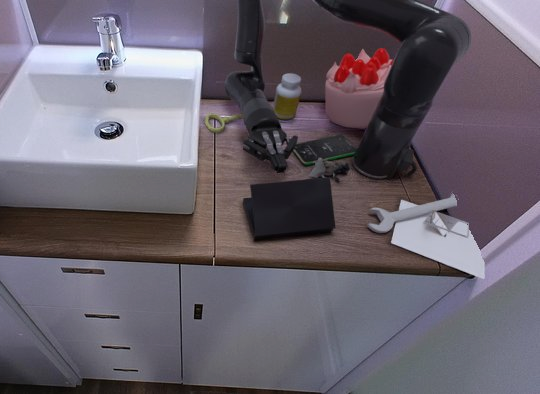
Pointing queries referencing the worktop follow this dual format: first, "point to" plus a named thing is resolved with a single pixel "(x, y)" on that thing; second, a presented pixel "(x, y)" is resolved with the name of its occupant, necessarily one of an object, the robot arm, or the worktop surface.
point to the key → (223, 121)
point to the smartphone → (324, 149)
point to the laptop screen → (292, 206)
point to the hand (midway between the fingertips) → (281, 170)
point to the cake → (356, 88)
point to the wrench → (408, 213)
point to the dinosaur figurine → (328, 168)
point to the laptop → (249, 214)
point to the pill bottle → (287, 97)
